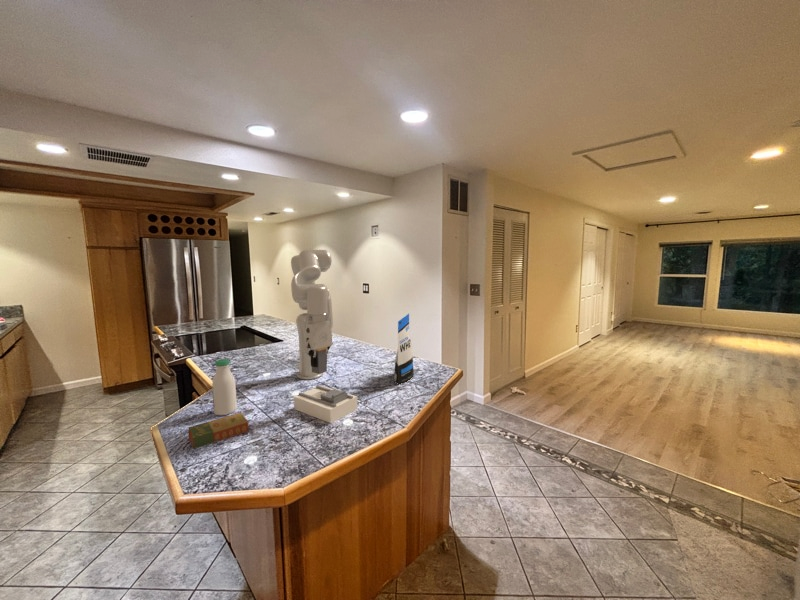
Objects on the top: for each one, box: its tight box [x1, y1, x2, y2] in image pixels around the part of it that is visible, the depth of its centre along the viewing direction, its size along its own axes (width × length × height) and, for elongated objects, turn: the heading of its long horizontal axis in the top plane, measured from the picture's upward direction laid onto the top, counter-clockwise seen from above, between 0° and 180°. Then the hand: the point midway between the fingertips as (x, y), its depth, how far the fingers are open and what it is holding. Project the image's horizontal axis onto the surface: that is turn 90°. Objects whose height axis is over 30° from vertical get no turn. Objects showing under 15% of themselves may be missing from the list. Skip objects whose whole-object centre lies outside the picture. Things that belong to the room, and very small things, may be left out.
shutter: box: [321, 388, 348, 404], centre depth 123 cm, size 7×7×3 cm
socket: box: [293, 384, 358, 424], centre depth 127 cm, size 20×14×6 cm
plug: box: [312, 347, 328, 374], centre depth 126 cm, size 5×5×10 cm
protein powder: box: [393, 313, 415, 386], centre depth 161 cm, size 10×24×30 cm, turn 167°
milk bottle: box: [211, 358, 238, 416], centre depth 124 cm, size 8×8×20 cm
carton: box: [188, 412, 249, 449], centre depth 108 cm, size 8×16×4 cm, turn 130°
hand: (319, 364), depth 127 cm, fingers closed on plug, 4 cm apart
